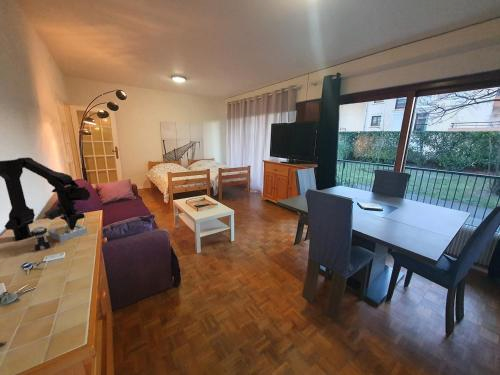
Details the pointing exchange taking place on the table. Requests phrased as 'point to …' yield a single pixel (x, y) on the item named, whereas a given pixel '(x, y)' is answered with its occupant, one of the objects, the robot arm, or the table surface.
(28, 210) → the robot arm
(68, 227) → the slider
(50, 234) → the switch unit
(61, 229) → the slider
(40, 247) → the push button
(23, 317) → the table surface
